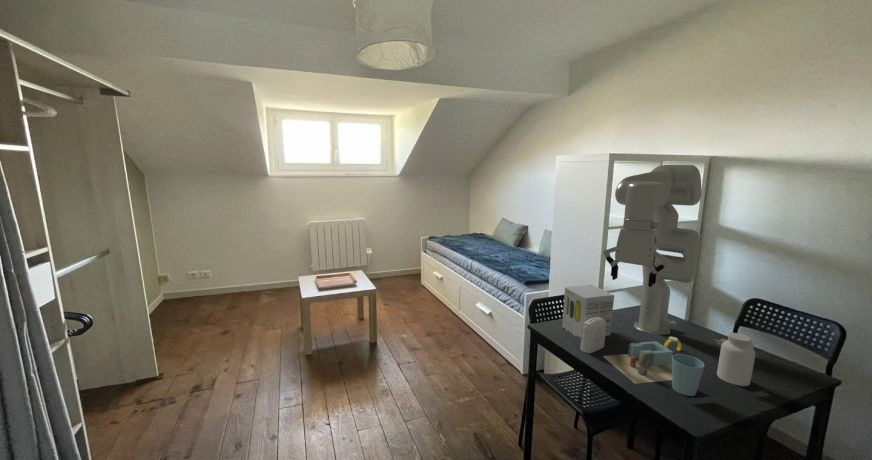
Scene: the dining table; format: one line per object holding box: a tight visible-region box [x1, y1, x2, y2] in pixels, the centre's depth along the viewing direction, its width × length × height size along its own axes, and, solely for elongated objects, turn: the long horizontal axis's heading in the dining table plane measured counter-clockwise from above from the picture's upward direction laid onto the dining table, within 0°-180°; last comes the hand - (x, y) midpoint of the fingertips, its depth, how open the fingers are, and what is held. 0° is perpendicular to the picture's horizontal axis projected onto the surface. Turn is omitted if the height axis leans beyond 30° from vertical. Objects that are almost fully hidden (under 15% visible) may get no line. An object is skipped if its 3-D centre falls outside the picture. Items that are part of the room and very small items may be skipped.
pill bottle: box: [716, 332, 756, 387], centre depth 109 cm, size 8×8×15 cm
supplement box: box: [562, 284, 615, 338], centre depth 141 cm, size 13×13×18 cm
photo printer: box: [579, 317, 606, 354], centre depth 127 cm, size 10×4×12 cm, turn 123°
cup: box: [671, 353, 705, 400], centre depth 103 cm, size 8×8×10 cm
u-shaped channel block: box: [627, 340, 674, 366], centre depth 120 cm, size 10×7×4 cm
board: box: [602, 352, 672, 385], centre depth 116 cm, size 20×16×8 cm
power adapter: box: [711, 338, 755, 349], centre depth 127 cm, size 11×5×6 cm, turn 63°
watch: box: [663, 336, 682, 352], centre depth 126 cm, size 6×3×6 cm, turn 98°
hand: (632, 282), depth 106 cm, fingers open, 9 cm apart
